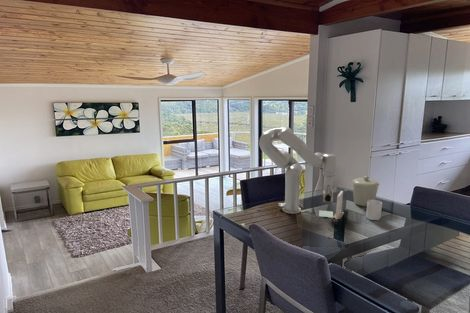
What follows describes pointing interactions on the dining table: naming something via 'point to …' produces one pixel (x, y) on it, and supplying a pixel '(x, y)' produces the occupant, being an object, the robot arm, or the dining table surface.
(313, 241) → the dining table surface
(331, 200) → the letter cube
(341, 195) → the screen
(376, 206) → the mug
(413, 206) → the dining table surface
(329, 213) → the mat
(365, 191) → the canister
